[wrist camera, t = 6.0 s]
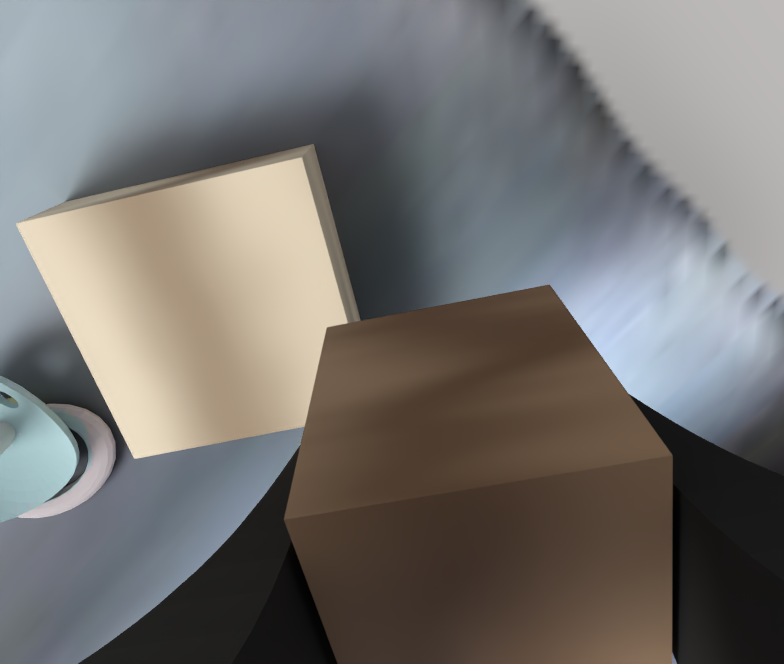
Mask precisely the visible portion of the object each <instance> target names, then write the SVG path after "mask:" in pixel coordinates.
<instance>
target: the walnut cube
mask: <svg viewBox="0 0 784 664" xmlns="http://www.w3.org/2000/svg"><path fill="white" fill-rule="evenodd" d="M672 507H673V455H672V454H671V452H670V451H669V450H668V448H667V447H666V445H665V444H664V443H663V441H662V440H661V439H660V437H659V436H658V434H657V433H656V432H655V430H654V429H653V427H652V426H651V425H650V423H649V422H648V420H647V419H646V418H645V416H644V415H643V413H642V412H641V411H640V409H639V408H638V407H637V405H636V404H635V402H634V401H633V400H632V398H631V397H630V395H629V394H628V393H627V391H626V390H625V388H624V387H623V386H622V384H621V383H620V382H619V380H618V379H617V377H616V376H615V375H614V373H613V372H612V370H611V369H610V368H609V366H608V365H607V363H606V362H605V361H604V359H603V358H602V357H601V355H600V354H599V352H598V351H597V350H596V348H595V347H594V345H593V344H592V343H591V341H590V340H589V338H588V337H587V336H586V334H585V333H584V332H583V330H582V329H581V327H580V326H579V325H578V323H577V322H576V320H575V319H574V318H573V316H572V315H571V313H570V312H569V311H568V309H567V308H566V307H565V305H564V304H563V302H562V301H561V300H560V298H559V297H558V295H557V294H556V293H555V291H554V290H553V288H552V287H551V286H550V285H545V286H540V287H535V288H529V289H524V290H519V291H514V292H509V293H503V294H498V295H493V296H488V297H482V298H477V299H472V300H467V301H462V302H456V303H451V304H446V305H441V306H435V307H430V308H425V309H420V310H415V311H409V312H404V313H399V314H394V315H388V316H383V317H378V318H373V319H368V320H362V321H357V322H352V323H347V324H341V325H336V326H331V327H327V329H326V333H325V338H324V342H323V347H322V351H321V356H320V360H319V364H318V369H317V373H316V378H315V382H314V387H313V391H312V396H311V400H310V405H309V409H308V414H307V418H306V423H305V427H304V432H303V436H302V441H301V445H300V450H299V454H298V459H297V463H296V468H295V472H294V476H293V481H292V485H291V490H290V494H289V499H288V503H287V508H286V512H285V517H284V521H285V524H286V527H287V530H288V532H289V535H290V538H291V540H292V543H293V546H294V548H295V551H296V554H297V556H298V559H299V562H300V564H301V567H302V570H303V572H304V575H305V578H306V580H307V583H308V586H309V588H310V591H311V594H312V597H313V599H314V602H315V605H316V607H317V610H318V613H319V615H320V618H321V621H322V623H323V626H324V629H325V631H326V634H327V637H328V639H329V642H330V645H331V647H332V650H333V653H334V655H335V658H336V661H337V664H672Z"/></svg>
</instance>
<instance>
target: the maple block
mask: <svg viewBox="0 0 784 664" xmlns="http://www.w3.org/2000/svg"><path fill="white" fill-rule="evenodd" d="M16 225H17V227H18V229H19V231H20V233H21V235H22V237H23V239H24V241H25V243H26V245H27V247H28V249H29V251H30V253H31V255H32V257H33V259H34V261H35V263H36V265H37V267H38V269H39V271H40V273H41V275H42V277H43V279H44V281H45V283H46V285H47V287H48V288H49V290H50V292H51V294H52V296H53V298H54V300H55V302H56V304H57V306H58V308H59V310H60V312H61V314H62V316H63V318H64V320H65V322H66V324H67V326H68V328H69V330H70V332H71V334H72V336H73V338H74V340H75V342H76V344H77V346H78V348H79V350H80V352H81V354H82V356H83V358H84V360H85V362H86V364H87V366H88V368H89V370H90V372H91V374H92V376H93V378H94V380H95V382H96V384H97V386H98V388H99V390H100V392H101V393H102V395H103V397H104V399H105V401H106V403H107V405H108V407H109V409H110V411H111V413H112V415H113V417H114V419H115V421H116V423H117V425H118V427H119V429H120V431H121V433H122V435H123V437H124V439H125V441H126V443H127V445H128V447H129V449H130V451H131V453H132V455H133V457H134V459H136V458H142V457H147V456H152V455H157V454H163V453H168V452H173V451H178V450H184V449H189V448H194V447H199V446H205V445H210V444H215V443H220V442H226V441H231V440H236V439H241V438H247V437H252V436H257V435H263V434H268V433H273V432H278V431H284V430H289V429H294V428H299V427H305V423H306V418H307V414H308V409H309V405H310V400H311V396H312V391H313V387H314V382H315V378H316V373H317V369H318V364H319V360H320V356H321V351H322V347H323V342H324V338H325V333H326V329H327V327H331V326H336V325H341V324H347V323H352V322H357V321H361V320H360V316H359V312H358V308H357V305H356V301H355V297H354V293H353V290H352V286H351V282H350V278H349V275H348V271H347V267H346V263H345V260H344V256H343V252H342V248H341V245H340V241H339V237H338V233H337V230H336V226H335V222H334V218H333V215H332V211H331V207H330V203H329V200H328V196H327V192H326V188H325V185H324V181H323V177H322V173H321V169H320V166H319V162H318V158H317V154H316V151H315V147H314V144H311V145H307V146H302V147H298V148H294V149H290V150H285V151H281V152H277V153H272V154H268V155H264V156H260V157H255V158H251V159H247V160H242V161H238V162H234V163H230V164H225V165H221V166H217V167H212V168H208V169H204V170H199V171H195V172H191V173H187V174H182V175H178V176H174V177H169V178H165V179H161V180H157V181H152V182H148V183H144V184H139V185H135V186H131V187H127V188H122V189H118V190H114V191H109V192H105V193H101V194H97V195H92V196H88V197H84V198H79V199H75V200H71V201H67V202H63V203H61V204H59V205H57V206H54V207H52V208H50V209H48V210H45V211H43V212H41V213H38V214H36V215H34V216H32V217H29V218H27V219H25V220H23V221H20V222H18V223H16Z"/></svg>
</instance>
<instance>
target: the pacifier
mask: <svg viewBox="0 0 784 664" xmlns="http://www.w3.org/2000/svg"><path fill="white" fill-rule="evenodd" d="M0 391H1V392H4V393H6V394H8V395H10V396H11V397H12V398H8V399H6V398H4V397H3V396H2V395H1V393H0V523H1V522H4V521H7V520H9V519H12V518H15V517H20V518H41V517H47V516H53V515H57V514H60V513H62V512H65V511H68V510H70V509H73V508H74V507H76V506H78V505H79V504H81V503H83V502H84V501H86V500H88V499H89V498H90V497H91V496H92V495H94V494H95V493H96V492H97V491H98V490H99V489H100V488H101V487H102V486H103V484H104V483H105V481H106V480H107V478H108V477H109V475H110V474H111V471H112V468H113V465H114V462H115V459H116V449H115V440H114V437H113V435H112V432H111V429H110V428H109V427H108V426H107V424H106V423H105V422H104V421H103V420H102V419H101V418H100V417H99V416H97V415H96V414H94V413H92V412H91V411H89V410H87V409H85V408H81V407H77V406H74V405H70V404H45V403H44V402H42V401H41V400H40V399H38V398H37V397H36V396H34V395H33V394H31V393H30V392H29V391H27V390H26V389H24V388H23V387H22V386H20V385H18V384H16V383H14V382H13V381H11V380H9V379H7V378H5V377H2V376H0ZM68 428H70V429H72V430H73V431H75V432H77V433H78V434H79V435H80V436H81V437H82V438H83V440H84V441H85V443H86V446H87V448H88V464H87V467H86V470H85V472H84V473H83V474H82V475H81V476H80V477H79V478H78V479H77V480H76V481H75V482H73V483H71V484H70V485H68V486H67V487H65V488H63V487H64V486H65V485H66V484H67V483H68V481H69V480H70V479H71V477H72V475H73V474H74V472H75V470H76V467H77V465H78V462H79V449H78V445H77V442H76V440H75V438H74V436H73V435H72V433H71V431H70V430H69V429H68ZM62 488H63V489H62Z"/></svg>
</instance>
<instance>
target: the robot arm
mask: <svg viewBox="0 0 784 664" xmlns="http://www.w3.org/2000/svg"><path fill="white" fill-rule="evenodd" d="M629 395H630V394H629ZM630 397H631V398H632V400H633V401H634V402H635V404H636V405H637V407H638V408H639V409H640V411H641V412H642V413H643V415H644V416H645V418H646V419H647V420H648V422H649V423H650V425H651V426H652V427H653V429H654V430H655V432H656V433H657V434H658V436H659V437H660V439H661V440H662V441H663V443H664V444H665V445H666V447H667V448H668V450H669V451H670V452H671V454H672V455H673V507H672V664H784V476H782V475H779V474H777V473H775V472H773V471H770V470H768V469H766V468H763V467H761V466H759V465H756V464H754V463H752V462H749V461H747V460H745V459H743V458H741V457H738V456H736V455H734V454H732V453H730V452H728V451H726V450H724V449H722V448H720V447H718V446H716V445H714V444H713V443H711V442H709V441H707V440H705V439H703V438H701V437H699V436H697V435H695V434H694V433H692V432H690V431H688V430H687V429H685V428H683V427H681V426H680V425H678V424H676V423H674V422H673V421H671V420H669V419H668V418H666V417H664V416H663V415H661V414H659V413H658V412H656V411H655V410H653V409H651V408H650V407H648V406H647V405H645V404H644V403H642V402H640V401H639V400H637V399H636V398H634V397H633V396H631V395H630ZM299 450H300V446H299V448H298V449H297V451H296V452H295V453H294V455H293V456H292V458H291V459H290V461H289V462H288V463H287V465H286V466H285V468H284V469H283V471H282V472H281V473H280V475H279V476H278V478H277V479H276V480H275V482H274V483H273V484H272V486H271V487H270V488H269V490H268V491H267V493H266V494H265V495H264V497H263V498H262V499H261V500H260V502H259V503H258V504H257V505H256V506H255V508H254V509H253V510H252V511H251V513H250V514H249V515H248V516H247V517H246V519H245V520H244V521H243V522H242V524H241V525H240V526H239V527H238V528H237V530H236V531H235V532H234V533H233V534H232V535H231V536H230V537H229V538H228V539H227V541H226V542H225V543H224V544H223V545H222V546H221V547H220V548H219V549H218V550H217V551H216V552H215V553H214V554H213V555H212V556H211V557H210V558H209V559H208V560H207V561H206V562H205V563H204V564H203V565H202V566H201V567H200V568H199V569H198V570H197V571H196V572H195V573H194V574H192V575H191V576H190V577H189V578H188V579H187V580H186V581H185V582H183V583H182V584H181V585H180V586H179V587H178V588H177V589H176V590H174V591H173V592H172V593H171V594H170V595H169V596H168V597H166V598H165V599H164V600H163V601H162V602H161V603H160V604H158V605H157V606H156V607H155V608H154V609H152V610H151V611H150V612H149V613H147V614H146V615H145V616H143V617H142V618H141V619H140V620H138V621H137V622H136V623H135V624H133V625H132V626H131V627H129V628H128V629H127V630H125V631H124V632H123V633H121V634H120V635H119V636H117V637H116V638H115V639H113V640H112V641H111V642H109V643H108V644H106V645H105V646H103V647H102V648H101V649H99V650H98V651H96V652H95V653H93V654H92V655H90V656H89V657H87V658H86V659H84V660H83V661H81V662H80V663H78V664H337V661H336V658H335V655H334V653H333V650H332V647H331V645H330V642H329V639H328V637H327V634H326V631H325V629H324V626H323V623H322V621H321V618H320V615H319V613H318V610H317V607H316V605H315V602H314V599H313V597H312V594H311V591H310V588H309V586H308V583H307V580H306V578H305V575H304V572H303V570H302V567H301V564H300V562H299V559H298V556H297V554H296V551H295V548H294V546H293V543H292V540H291V538H290V535H289V532H288V530H287V527H286V524H285V521H284V517H285V512H286V508H287V503H288V499H289V494H290V490H291V485H292V481H293V476H294V472H295V468H296V463H297V459H298V454H299Z"/></svg>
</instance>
